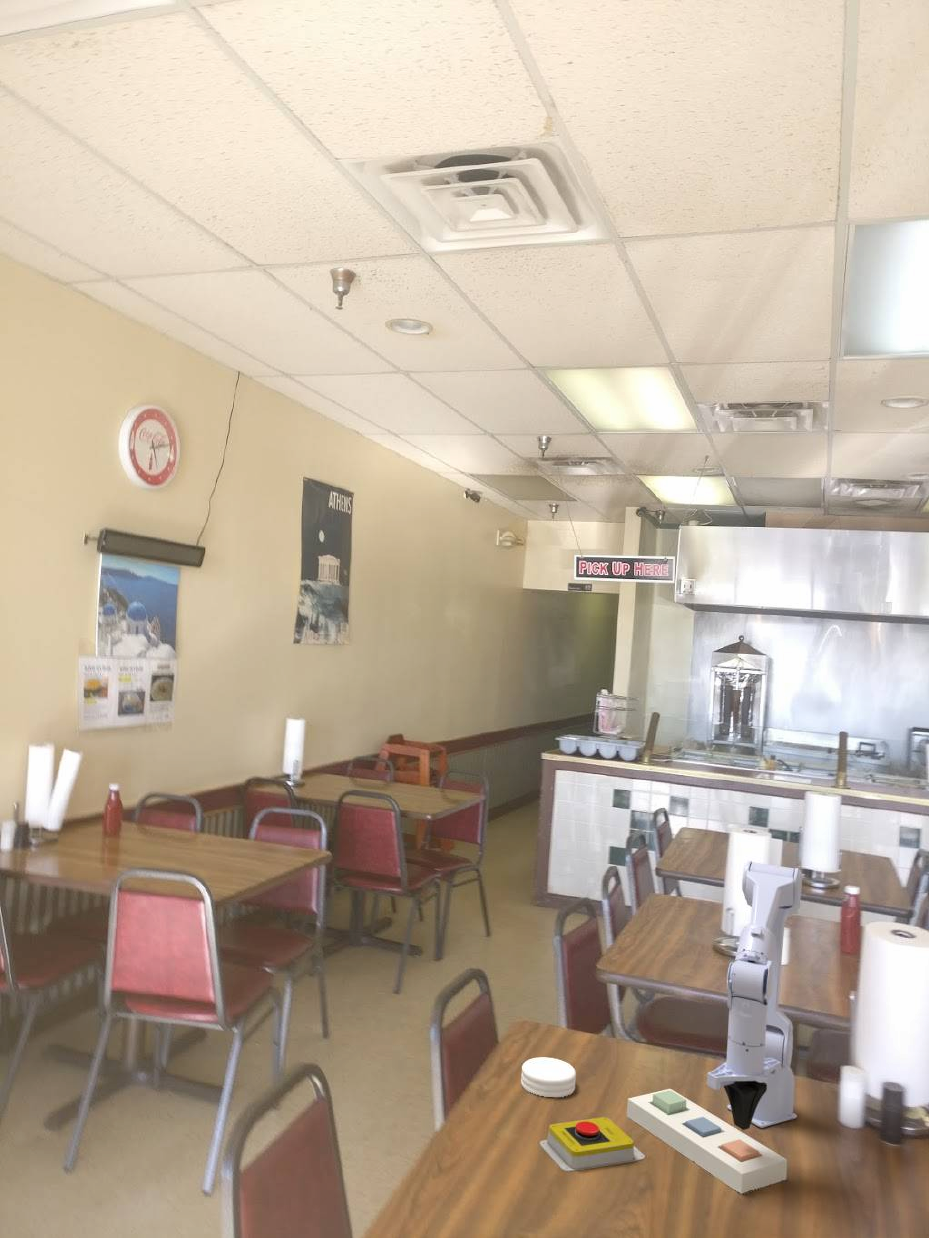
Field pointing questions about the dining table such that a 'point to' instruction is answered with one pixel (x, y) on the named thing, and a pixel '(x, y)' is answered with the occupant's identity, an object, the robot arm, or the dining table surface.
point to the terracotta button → (740, 1150)
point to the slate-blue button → (703, 1127)
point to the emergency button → (589, 1144)
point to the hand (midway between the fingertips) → (741, 1126)
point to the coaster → (548, 1077)
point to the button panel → (709, 1144)
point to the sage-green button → (669, 1102)
